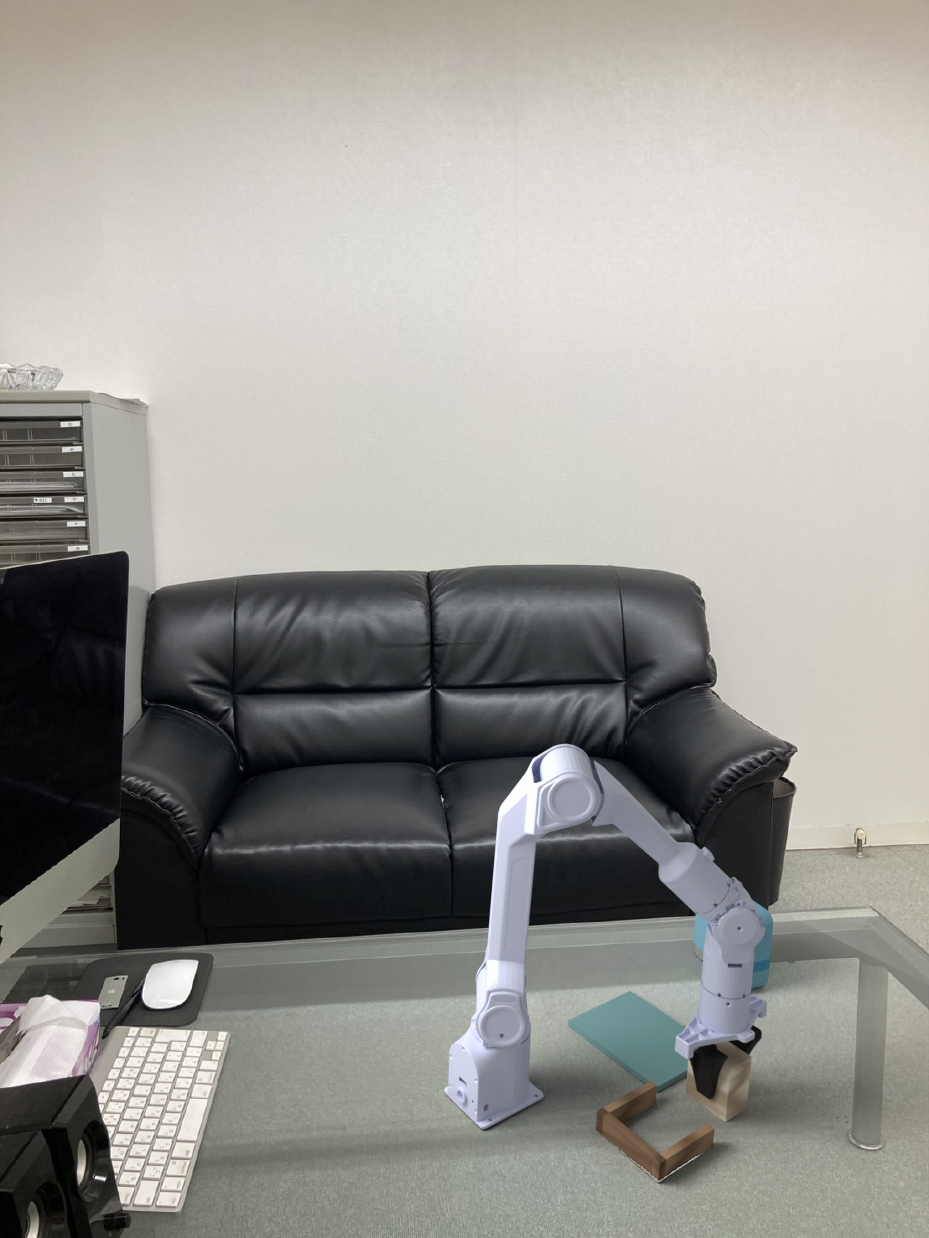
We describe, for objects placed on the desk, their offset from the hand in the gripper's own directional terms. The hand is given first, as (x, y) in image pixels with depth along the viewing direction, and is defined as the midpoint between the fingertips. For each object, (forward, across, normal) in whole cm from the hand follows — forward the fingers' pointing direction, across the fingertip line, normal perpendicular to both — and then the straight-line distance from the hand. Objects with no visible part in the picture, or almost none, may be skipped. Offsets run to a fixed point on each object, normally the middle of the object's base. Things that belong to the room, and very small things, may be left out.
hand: (717, 1086), depth 113 cm
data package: (+2, +24, +17) cm, 29 cm away
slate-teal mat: (+2, +1, +13) cm, 13 cm away
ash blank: (+2, 0, 0) cm, 2 cm away
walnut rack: (+2, -11, 0) cm, 11 cm away
